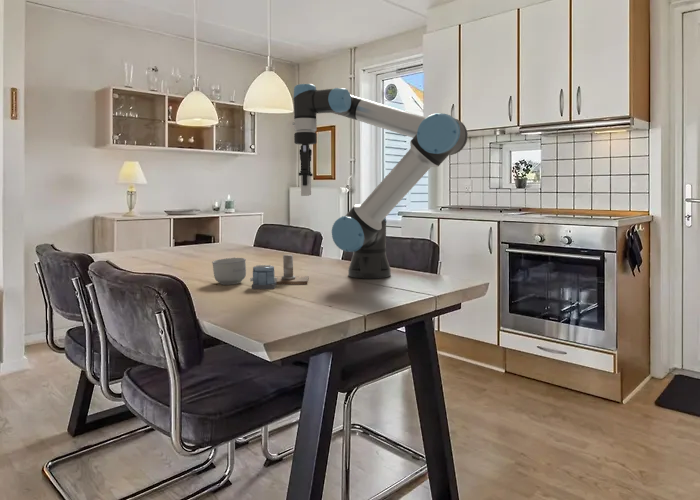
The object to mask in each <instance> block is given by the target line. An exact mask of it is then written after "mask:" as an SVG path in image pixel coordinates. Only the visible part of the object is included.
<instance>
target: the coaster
mask: <svg viewBox="0 0 700 500" xmlns="http://www.w3.org/2000/svg"><path fill="white" fill-rule="evenodd" d="M276 286H278V285H277V284H276V281H275V283H274V284H270V285H255V284H253V283H252V284H251V289H252V290H274V289H275V288H276Z"/></svg>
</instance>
